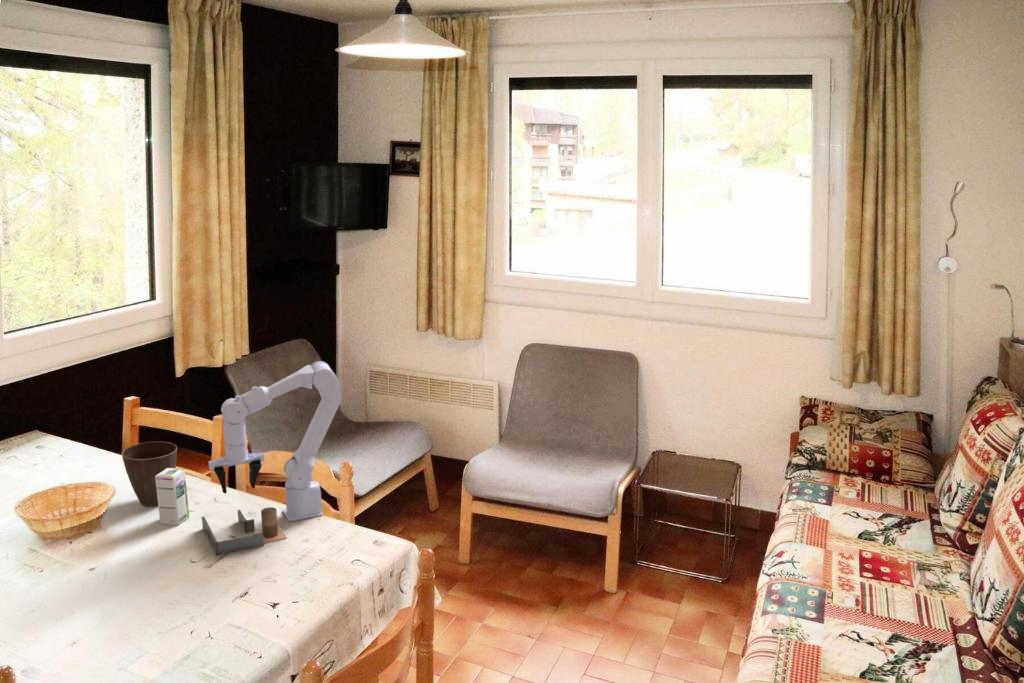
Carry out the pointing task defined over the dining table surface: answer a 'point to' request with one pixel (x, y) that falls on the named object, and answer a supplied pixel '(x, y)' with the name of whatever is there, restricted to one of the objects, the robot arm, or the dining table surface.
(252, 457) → the robot arm
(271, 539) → the coaster
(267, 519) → the walnut peg
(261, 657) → the dining table surface
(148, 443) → the plant pot
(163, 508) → the syrup box
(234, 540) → the rail channel
